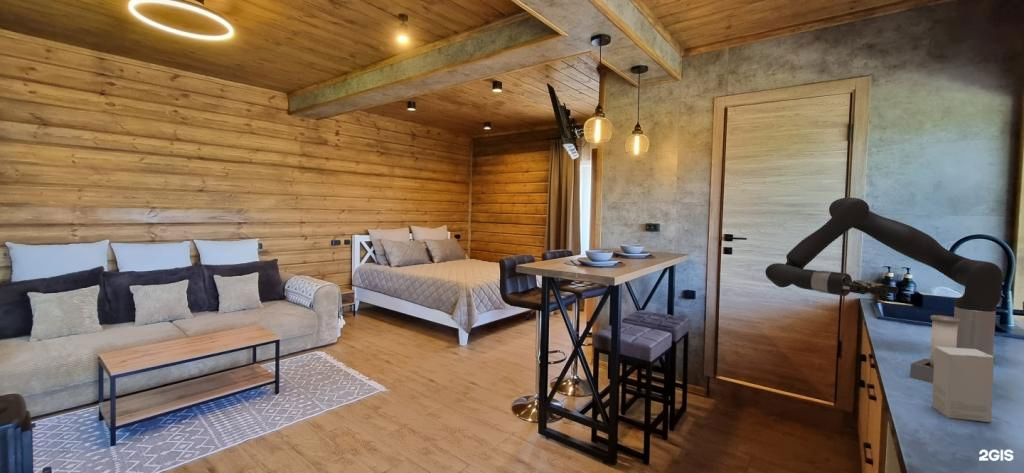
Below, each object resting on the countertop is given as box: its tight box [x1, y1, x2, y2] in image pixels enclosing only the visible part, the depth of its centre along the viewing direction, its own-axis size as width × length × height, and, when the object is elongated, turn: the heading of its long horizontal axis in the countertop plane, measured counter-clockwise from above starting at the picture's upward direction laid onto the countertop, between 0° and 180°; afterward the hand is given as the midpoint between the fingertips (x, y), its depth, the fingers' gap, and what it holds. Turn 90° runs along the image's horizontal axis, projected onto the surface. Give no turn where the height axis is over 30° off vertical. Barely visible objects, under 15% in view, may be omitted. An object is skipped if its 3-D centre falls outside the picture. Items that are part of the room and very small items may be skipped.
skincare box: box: [931, 346, 996, 423], centre depth 101 cm, size 8×7×16 cm
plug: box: [929, 314, 960, 367], centre depth 120 cm, size 6×6×18 cm
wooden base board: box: [908, 357, 934, 385], centre depth 123 cm, size 23×11×5 cm, turn 119°
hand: (892, 291), depth 130 cm, fingers open, 8 cm apart
